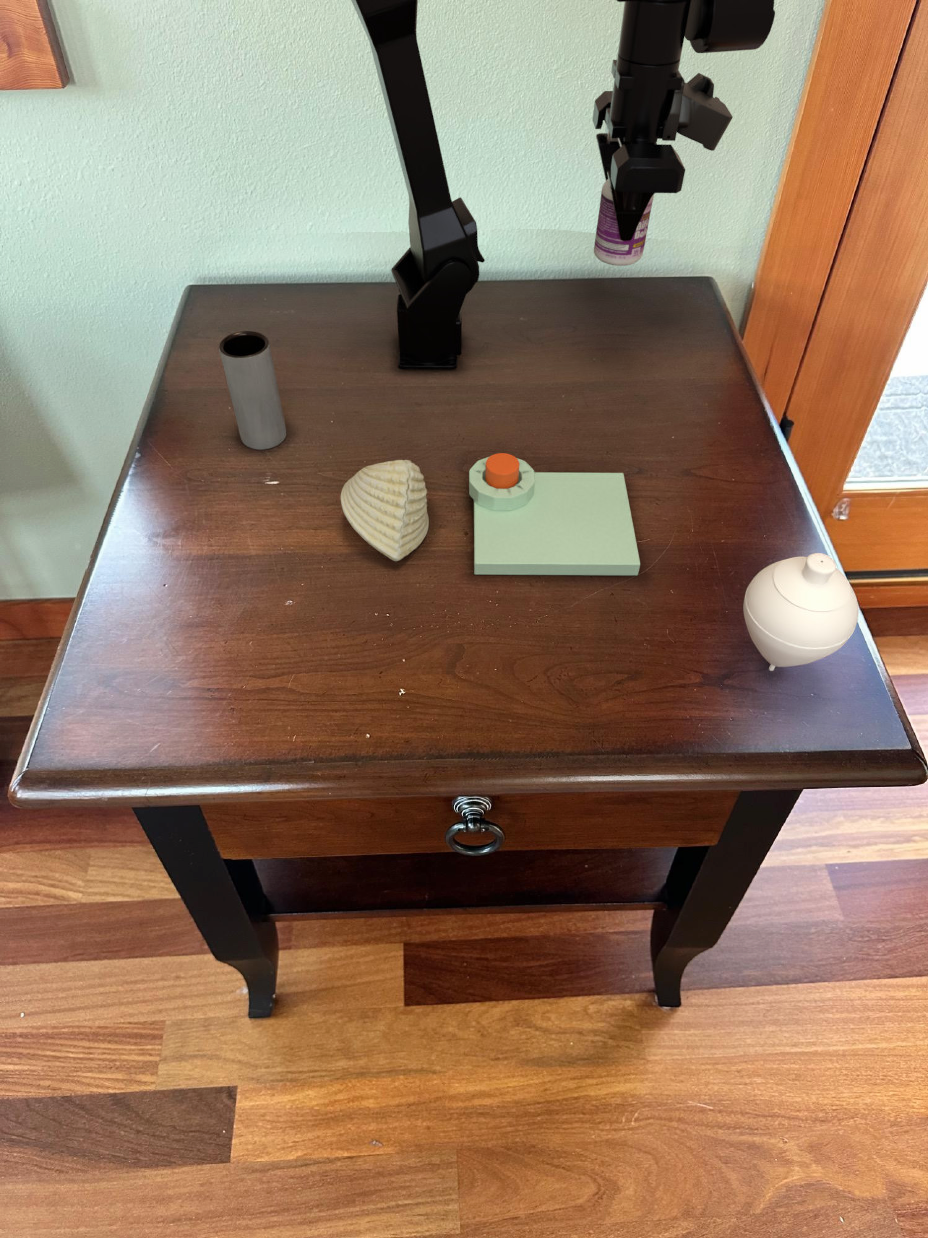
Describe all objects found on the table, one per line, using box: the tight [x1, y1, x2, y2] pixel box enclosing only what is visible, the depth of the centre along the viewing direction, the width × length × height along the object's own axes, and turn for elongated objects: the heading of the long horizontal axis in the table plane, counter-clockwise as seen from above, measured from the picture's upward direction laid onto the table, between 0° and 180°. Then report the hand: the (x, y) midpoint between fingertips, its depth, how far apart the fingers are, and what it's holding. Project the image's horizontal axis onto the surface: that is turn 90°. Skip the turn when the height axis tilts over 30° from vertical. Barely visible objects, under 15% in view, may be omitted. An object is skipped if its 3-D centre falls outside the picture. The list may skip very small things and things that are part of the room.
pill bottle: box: [593, 179, 655, 267], centre depth 87 cm, size 5×5×10 cm
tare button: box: [485, 452, 519, 489], centre depth 75 cm, size 3×3×2 cm
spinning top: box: [742, 552, 859, 672], centre depth 60 cm, size 8×8×12 cm
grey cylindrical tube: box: [218, 330, 287, 450], centre depth 80 cm, size 4×4×10 cm
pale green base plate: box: [468, 456, 641, 576], centre depth 74 cm, size 14×12×3 cm
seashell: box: [340, 459, 430, 562], centre depth 73 cm, size 8×8×8 cm
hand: (621, 227), depth 88 cm, fingers closed on pill bottle, 5 cm apart
